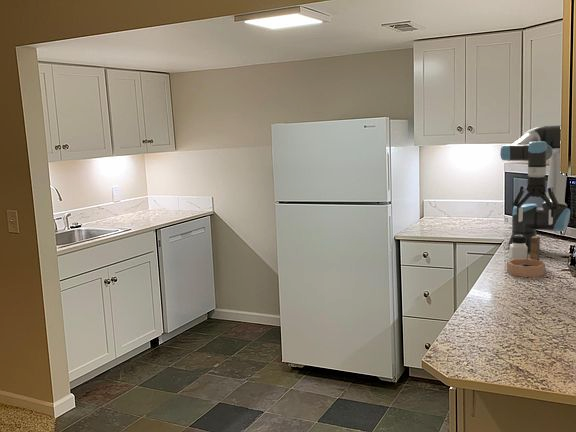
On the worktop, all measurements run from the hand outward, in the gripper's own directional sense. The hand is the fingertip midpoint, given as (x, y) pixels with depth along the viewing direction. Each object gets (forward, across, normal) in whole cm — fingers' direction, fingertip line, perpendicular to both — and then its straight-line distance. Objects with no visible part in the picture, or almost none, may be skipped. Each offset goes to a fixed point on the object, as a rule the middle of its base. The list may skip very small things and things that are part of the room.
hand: (535, 222), depth 268 cm
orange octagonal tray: (+20, +1, -12) cm, 24 cm away
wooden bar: (+20, 0, 0) cm, 21 cm away
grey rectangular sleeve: (+20, +1, -12) cm, 24 cm away
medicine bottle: (+21, -11, +8) cm, 25 cm away
